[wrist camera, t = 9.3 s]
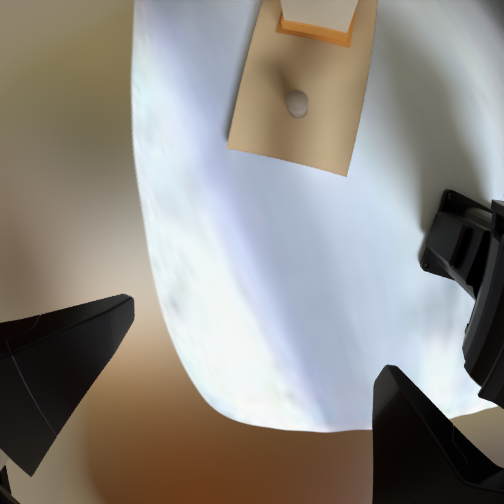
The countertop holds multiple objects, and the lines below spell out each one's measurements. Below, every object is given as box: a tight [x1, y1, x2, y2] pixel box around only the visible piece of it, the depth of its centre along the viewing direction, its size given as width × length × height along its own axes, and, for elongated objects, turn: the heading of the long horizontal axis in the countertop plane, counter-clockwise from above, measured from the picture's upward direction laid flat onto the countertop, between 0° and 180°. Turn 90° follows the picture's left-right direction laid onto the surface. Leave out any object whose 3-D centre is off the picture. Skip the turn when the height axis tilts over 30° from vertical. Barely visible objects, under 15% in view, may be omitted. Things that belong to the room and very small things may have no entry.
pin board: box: [227, 0, 377, 177], centre depth 13 cm, size 8×15×4 cm, turn 168°
